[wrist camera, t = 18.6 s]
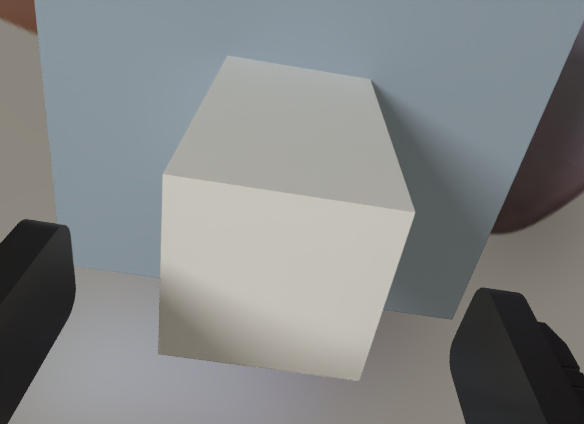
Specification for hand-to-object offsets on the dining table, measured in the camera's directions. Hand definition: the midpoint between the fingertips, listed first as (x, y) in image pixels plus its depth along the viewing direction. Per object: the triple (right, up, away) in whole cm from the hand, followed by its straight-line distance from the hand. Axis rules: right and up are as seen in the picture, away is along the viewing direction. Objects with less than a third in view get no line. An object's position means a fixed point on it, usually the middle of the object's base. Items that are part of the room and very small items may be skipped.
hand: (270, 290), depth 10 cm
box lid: (0, +5, +7) cm, 9 cm away
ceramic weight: (0, +4, +7) cm, 8 cm away
